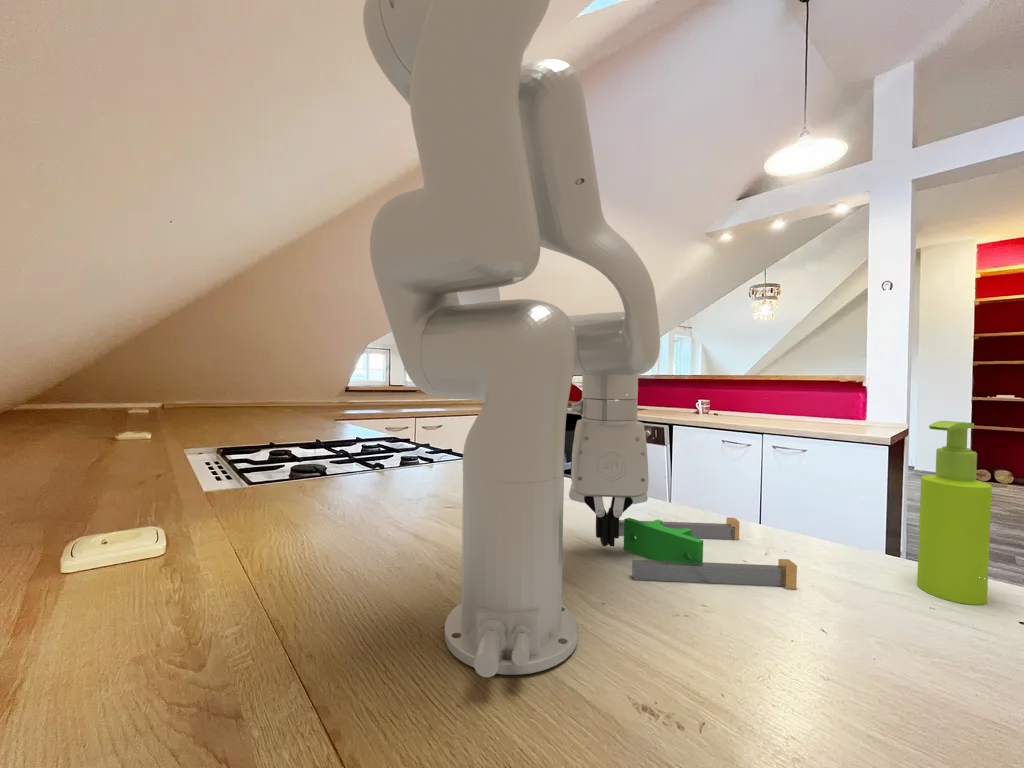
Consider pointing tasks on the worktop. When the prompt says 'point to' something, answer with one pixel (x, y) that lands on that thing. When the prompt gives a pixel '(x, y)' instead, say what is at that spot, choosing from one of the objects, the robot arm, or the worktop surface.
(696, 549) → the green block
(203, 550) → the worktop surface
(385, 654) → the worktop surface
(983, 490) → the soap dispenser
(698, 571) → the chute
